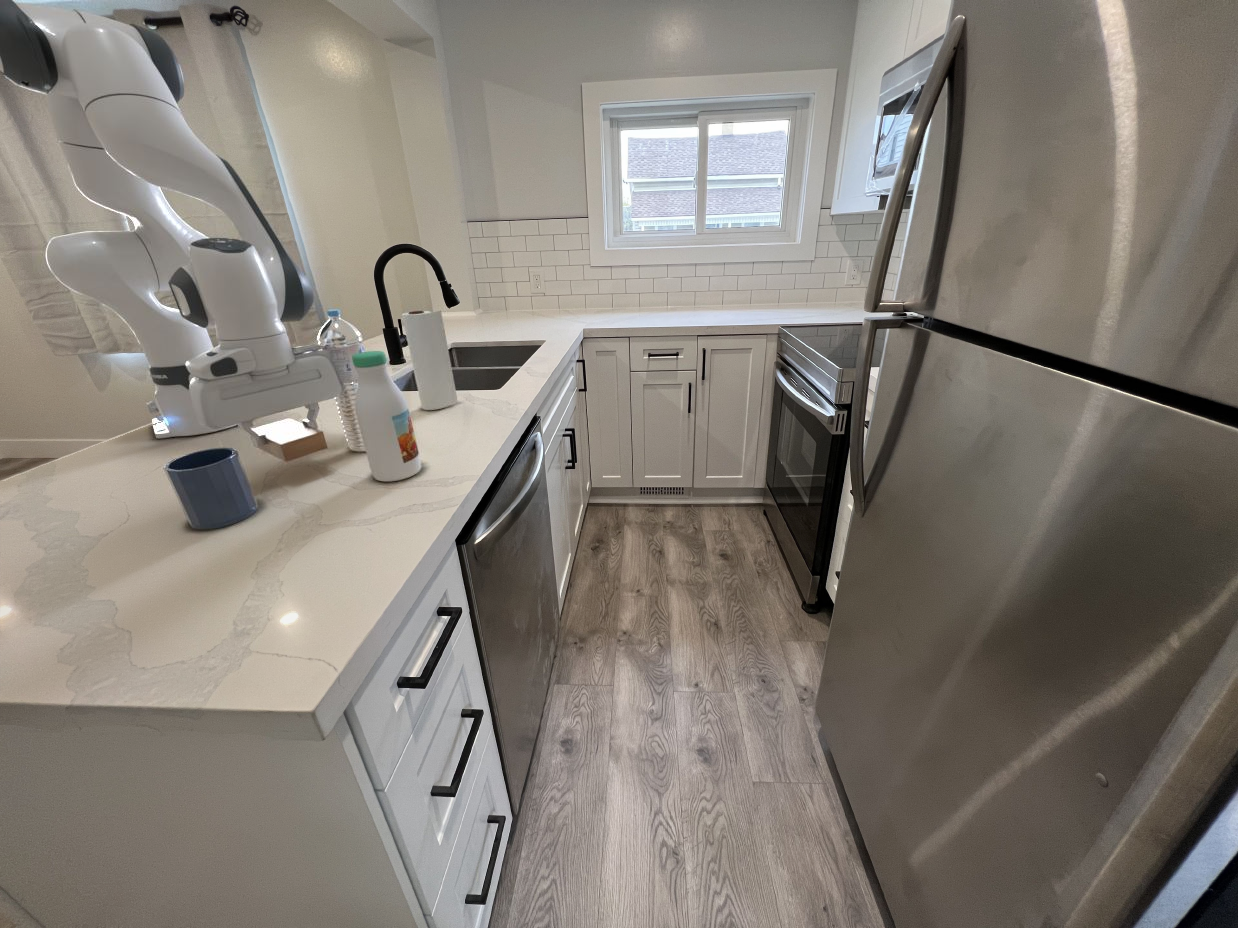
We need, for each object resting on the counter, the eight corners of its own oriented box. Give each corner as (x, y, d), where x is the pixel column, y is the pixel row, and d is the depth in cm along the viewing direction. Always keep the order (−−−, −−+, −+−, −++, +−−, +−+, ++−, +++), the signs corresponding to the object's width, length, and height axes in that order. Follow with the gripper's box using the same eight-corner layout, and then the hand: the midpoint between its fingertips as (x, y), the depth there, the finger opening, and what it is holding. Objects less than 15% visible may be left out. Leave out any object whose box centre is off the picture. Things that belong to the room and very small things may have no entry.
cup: (182, 519, 71) (155, 462, 68) (245, 496, 77) (223, 443, 73) (202, 536, 67) (175, 476, 63) (267, 510, 73) (245, 454, 69)
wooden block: (254, 446, 84) (247, 429, 83) (294, 433, 89) (289, 418, 87) (286, 462, 78) (280, 444, 76) (328, 448, 82) (323, 431, 81)
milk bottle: (392, 486, 78) (359, 361, 70) (363, 476, 82) (328, 356, 74) (431, 468, 84) (406, 350, 76) (403, 459, 88) (375, 346, 80)
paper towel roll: (416, 410, 114) (395, 314, 105) (430, 402, 119) (410, 310, 110) (445, 411, 112) (426, 313, 103) (458, 403, 118) (441, 309, 109)
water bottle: (373, 453, 91) (335, 313, 81) (341, 452, 92) (300, 313, 82) (395, 439, 97) (363, 307, 87) (365, 438, 99) (329, 307, 88)
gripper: (318, 339, 86) (339, 415, 92) (171, 365, 71) (208, 453, 77) (336, 343, 82) (357, 421, 88) (186, 371, 67) (224, 463, 73)
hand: (287, 437), depth 82 cm, fingers closed on wooden block, 6 cm apart
